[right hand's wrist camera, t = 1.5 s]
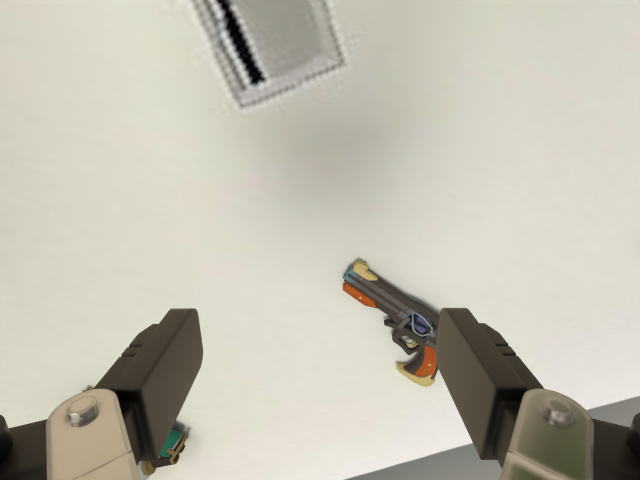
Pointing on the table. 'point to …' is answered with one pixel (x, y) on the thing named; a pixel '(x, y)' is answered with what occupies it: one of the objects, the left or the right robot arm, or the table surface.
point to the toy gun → (399, 320)
